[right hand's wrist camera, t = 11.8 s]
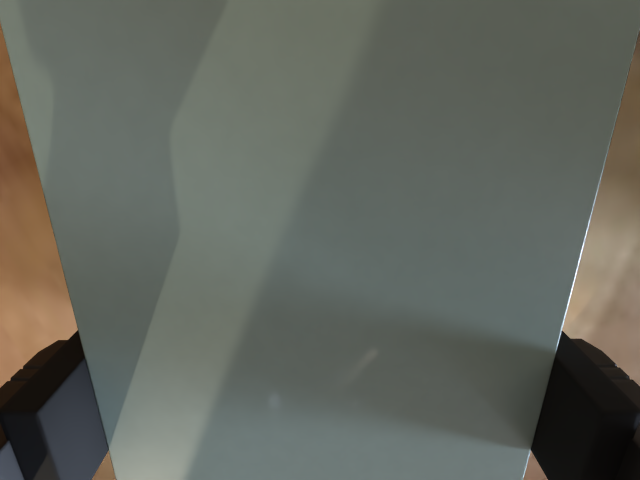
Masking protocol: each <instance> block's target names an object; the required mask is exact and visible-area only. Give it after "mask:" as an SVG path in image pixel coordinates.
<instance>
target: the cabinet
mask: <svg viewBox="0 0 640 480" xmlns="http://www.w3.org/2000/svg"><path fill="white" fill-rule="evenodd" d="M0 23H1V27H2V31H3V35H4V39H5V43H6V47H7V50H8V54H9V58H10V62H11V66H12V70H13V74H14V78H15V82H16V86H17V90H18V94H19V98H20V102H21V106H22V110H23V114H24V118H25V122H26V126H27V130H28V134H29V137H30V141H31V145H32V149H33V153H34V157H35V161H36V165H37V169H38V173H39V177H40V181H41V185H42V189H43V193H44V197H45V201H46V205H47V209H48V213H49V217H50V220H51V224H52V228H53V232H54V236H55V240H56V244H57V248H58V252H59V256H60V260H61V264H62V268H63V272H64V276H65V280H66V284H67V288H68V292H69V296H70V300H71V303H72V307H73V311H74V315H75V319H76V323H77V327H78V331H79V335H80V339H81V343H82V347H83V351H84V355H85V359H86V363H87V367H88V371H89V375H90V379H91V383H92V386H93V390H94V394H95V398H96V402H97V406H98V410H99V414H100V418H101V422H102V426H103V430H104V434H105V437H106V441H107V445H108V449H109V454H110V458H111V462H112V466H113V469H114V473H115V477H116V480H523V478H524V474H525V470H526V466H527V462H528V458H529V455H530V451H531V447H532V443H533V439H534V435H535V431H536V428H537V424H538V420H539V416H540V412H541V408H542V404H543V401H544V397H545V393H546V389H547V385H548V381H549V377H550V374H551V370H552V366H553V362H554V358H555V354H556V350H557V347H558V343H559V339H560V335H561V331H562V327H563V323H564V320H565V316H566V312H567V308H568V304H569V300H570V296H571V293H572V289H573V285H574V281H575V277H576V273H577V269H578V266H579V262H580V258H581V254H582V250H583V246H584V242H585V239H586V235H587V231H588V227H589V223H590V219H591V215H592V212H593V208H594V204H595V200H596V196H597V192H598V188H599V185H600V181H601V177H602V173H603V169H604V165H605V161H606V158H607V154H608V150H609V146H610V142H611V138H612V134H613V131H614V127H615V123H616V119H617V115H618V111H619V107H620V104H621V100H622V96H623V92H624V88H625V84H626V80H627V77H628V73H629V69H630V65H631V61H632V57H633V53H634V50H635V46H636V42H637V38H638V34H639V30H640V0H0Z"/></svg>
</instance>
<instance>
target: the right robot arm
mask: <svg viewBox="0 0 640 480" xmlns="http://www.w3.org/2000/svg"><path fill="white" fill-rule="evenodd" d="M108 450H109V449H108V445H107V441H106V437H105V434H104V430H103V426H102V422H101V418H100V414H99V410H98V406H97V402H96V398H95V394H94V390H93V386H92V383H91V379H90V375H89V371H88V367H87V363H86V359H85V355H84V351H83V347H82V343H81V339H80V335H79V331H77V332H76V333H75V334H74V335H73V336H72V337H71V338H70V339H69V340H58V341H56V342H55V343H53V344H51V345H50V346H48V347H46V348H45V349H43V350H41V351H39V352H38V353H37V354H36V355H35V356H34V357H33V358H32V359H31V360H29V361H28V362H27V363H26V364H25V365H24V366H23V369H20V370H19V371H18V372H17V373H16V374H15V375H14V376H12V377H11V380H10V381H7V382H6V383H5V384H4V385H3V386H2V387H1V388H0V480H91V479H92V478H93V476H94V474H95V473H96V471H97V469H98V467H99V466H100V464H101V462H102V460H103V459H104V457H105V455H106V454H107V452H108ZM531 451H532V453H533V454H534V456H535V458H536V459H537V461H538V463H539V465H540V466H541V468H542V470H543V471H544V473H545V475H546V477H547V478H548V480H640V386H639V385H638V384H637V383H635V382H634V381H633V380H630V379H629V376H628V375H627V374H626V373H625V372H624V371H623V370H622V369H621V368H617V365H616V364H615V363H614V362H613V361H612V360H611V359H610V358H609V357H608V356H607V355H606V354H605V353H603V352H602V351H601V350H599V349H598V348H596V347H594V346H593V345H591V344H589V343H587V342H586V341H584V340H582V339H570V338H569V337H568V336H567V335H566V334H565V333H564V332H563V331H561V335H560V339H559V343H558V347H557V350H556V354H555V358H554V362H553V366H552V370H551V374H550V377H549V381H548V385H547V389H546V393H545V397H544V401H543V404H542V408H541V412H540V416H539V420H538V424H537V428H536V431H535V435H534V439H533V443H532V447H531Z"/></svg>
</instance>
